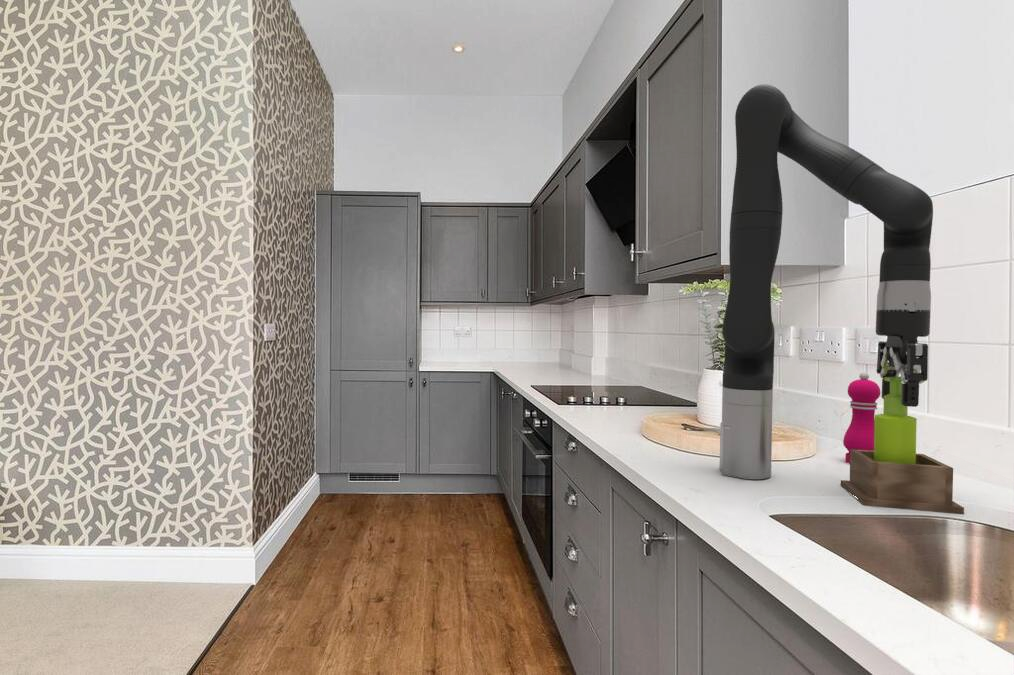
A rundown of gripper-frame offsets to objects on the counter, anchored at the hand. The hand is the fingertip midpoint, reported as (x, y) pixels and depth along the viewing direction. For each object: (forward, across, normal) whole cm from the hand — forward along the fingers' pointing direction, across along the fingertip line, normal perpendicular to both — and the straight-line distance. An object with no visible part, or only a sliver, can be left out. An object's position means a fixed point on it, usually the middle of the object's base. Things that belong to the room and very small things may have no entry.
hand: (898, 402), depth 94 cm
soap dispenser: (+16, 0, 0) cm, 16 cm away
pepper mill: (+17, -27, +3) cm, 32 cm away
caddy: (+17, 0, 0) cm, 17 cm away
